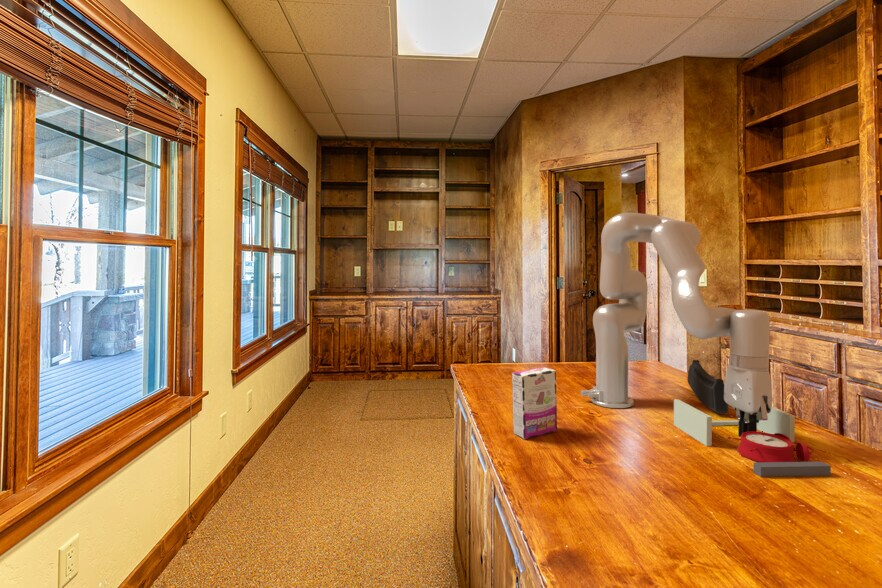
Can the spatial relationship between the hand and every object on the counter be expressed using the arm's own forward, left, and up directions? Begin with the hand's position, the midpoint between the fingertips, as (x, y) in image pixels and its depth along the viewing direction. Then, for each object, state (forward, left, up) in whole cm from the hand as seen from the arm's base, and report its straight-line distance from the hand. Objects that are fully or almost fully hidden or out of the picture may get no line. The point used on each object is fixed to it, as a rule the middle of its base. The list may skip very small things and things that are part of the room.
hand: (747, 437), depth 99 cm
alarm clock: (+1, -7, -2) cm, 7 cm away
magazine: (+11, +33, -2) cm, 34 cm away
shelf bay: (0, +6, -2) cm, 6 cm away
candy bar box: (-49, +9, -2) cm, 50 cm away
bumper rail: (-2, -15, -2) cm, 15 cm away
